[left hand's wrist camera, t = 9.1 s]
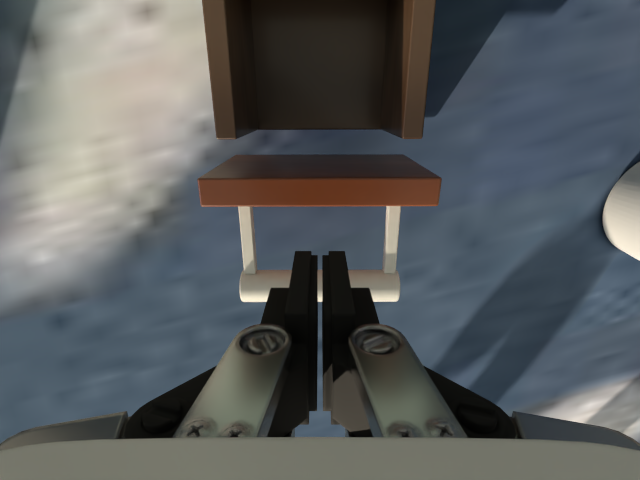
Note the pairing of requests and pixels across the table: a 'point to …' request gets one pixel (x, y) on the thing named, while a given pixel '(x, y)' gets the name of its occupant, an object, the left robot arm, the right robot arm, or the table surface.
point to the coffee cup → (624, 213)
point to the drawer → (319, 114)
